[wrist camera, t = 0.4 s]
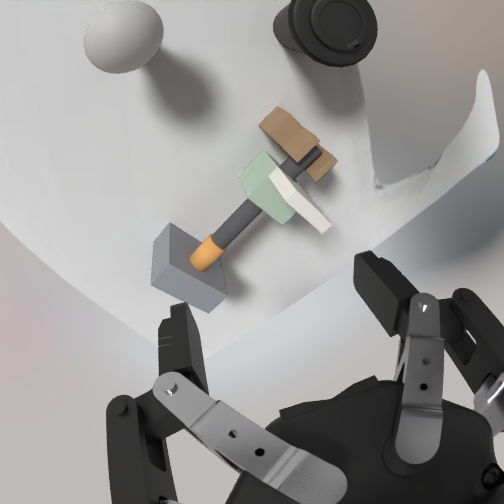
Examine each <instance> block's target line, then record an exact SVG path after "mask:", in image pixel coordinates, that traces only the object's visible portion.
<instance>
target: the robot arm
mask: <svg viewBox="0 0 504 504" xmlns="http://www.w3.org/2000/svg"><path fill="white" fill-rule="evenodd" d="M353 280H354V286H355V289H356V291H357V292H358V294H359V295H360V296H361V298H362V299H363V300H364V301H365V303H366V304H367V305H368V307H369V308H370V310H371V311H372V312H373V314H374V315H375V317H376V318H377V319H378V321H379V322H380V323H381V325H382V326H383V328H384V329H385V330H386V332H387V333H388V335H389V336H390V337H392V336H394V335H397V334H399V336H400V337H401V338H400V341H399V349H398V357H397V364H396V371H395V376H394V379H393V381H392V380H382V381H378V380H377V378H376V377H375V375H374V376H371V377H369V378H367V379H364V380H362V381H359V382H357V383H355V384H353V385H351V386H350V387H348V388H347V389H345V390H344V391H343V392H341V393H340V394H338V395H337V396H335V397H334V398H332V399H328V400H320V401H312V402H303V403H300V404H297V405H294V406H291V407H288V408H284V409H281V410H279V412H280V417H279V418H277V419H275V420H274V421H273V422H271V423H270V424H269V425H268V426H267V427H266V428H265V429H263V428H262V427H260V426H259V425H257V424H256V423H254V422H252V421H250V420H249V419H247V418H246V417H244V416H243V415H242V414H240V413H239V412H237V411H236V410H234V409H233V408H232V407H230V406H229V405H227V404H226V403H224V402H222V401H220V400H218V401H216V400H214V399H213V398H211V397H210V396H209V392H208V386H207V380H206V373H205V367H204V360H203V354H202V347H201V340H200V334H199V331H198V327H197V325H196V322H195V320H194V317H193V315H192V313H191V310H190V308H189V306H188V303H187V302H184V303H180V304H176V305H172V306H171V307H170V313H171V318H167V319H163V320H162V322H161V324H160V326H159V329H158V339H159V340H158V346H159V348H158V350H159V351H158V354H159V355H158V357H159V377H158V378H157V380H156V381H155V383H154V385H153V388H152V389H151V390H150V391H148V392H147V393H145V394H143V395H141V396H139V397H137V398H135V399H133V398H132V397H130V396H128V395H120V396H117V397H115V398H114V399H112V401H111V402H110V403H109V404H108V406H107V410H106V426H107V427H106V428H107V429H106V430H107V454H108V469H109V480H110V490H111V498H112V504H181V503H179V502H178V500H177V495H176V491H175V486H174V481H173V476H172V471H171V466H170V461H169V455H168V449H167V443H166V437H168V436H170V435H172V434H174V433H176V432H178V431H180V430H182V429H185V430H186V431H187V432H188V433H189V434H191V435H192V436H193V437H194V438H195V439H197V440H198V441H199V442H200V443H201V444H203V445H204V446H205V447H206V448H208V449H209V450H210V451H211V452H212V453H214V454H215V455H216V456H217V457H218V458H220V459H221V460H222V461H223V462H224V463H226V464H227V465H229V466H230V467H231V468H232V469H234V470H235V471H236V472H238V473H239V474H240V476H239V478H238V480H237V482H236V484H235V486H234V488H233V490H232V492H231V493H230V495H229V497H228V499H227V501H226V503H225V504H504V471H503V470H502V469H501V468H500V467H499V466H498V464H497V461H496V457H495V453H494V445H493V437H494V436H496V435H497V434H498V433H500V432H504V326H503V325H502V324H501V323H500V321H499V320H498V319H497V318H496V317H495V315H494V314H493V313H492V312H491V311H490V310H489V308H488V307H487V306H486V305H485V304H484V303H483V302H482V300H481V299H480V298H479V297H478V296H477V295H476V294H475V293H474V292H473V291H471V290H469V289H466V288H459V289H457V290H455V291H454V293H453V296H452V298H447V299H441V300H437V299H436V298H435V297H434V296H433V295H431V294H428V293H420V292H419V291H418V290H417V289H416V288H415V287H414V286H413V285H412V284H411V283H410V282H409V281H408V279H407V278H406V277H405V276H404V275H402V273H401V272H400V271H399V270H397V268H396V267H395V266H394V265H393V264H392V263H391V262H390V261H388V260H386V259H384V258H382V257H381V258H378V257H377V256H376V255H375V254H374V253H373V252H372V251H370V250H369V251H365V252H362V253H359V254H356V255H355V257H354V276H353ZM466 330H468V331H469V332H470V334H471V335H472V336H473V338H474V339H475V341H476V344H475V343H474V341H473V340H472V339H471V337H470V336H469V335H468V334H467V332H466ZM444 349H445V350H446V352H447V353H448V354H449V356H450V357H451V359H452V360H453V362H454V364H455V365H456V366H457V368H458V370H459V371H460V373H461V374H462V376H463V377H464V379H465V380H466V382H467V384H468V385H469V387H470V388H471V390H472V392H473V393H474V395H475V396H474V405H475V407H474V410H471V409H468V408H466V407H463V406H460V405H458V404H455V403H452V402H450V401H447V400H444V399H442V392H443V374H444Z"/></svg>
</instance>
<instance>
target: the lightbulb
mask: <svg viewBox="0 0 504 504" xmlns="http://www.w3.org/2000/svg"><path fill="white" fill-rule="evenodd" d="M163 31H164V29H163V23H162V20H161V18H160V16H159V14H158V13H157V12H156V11H155V9H153V8H152V7H151V6H149V5H147V4H145V3H143V2H139V1H129V0H127V1H120V2H117V3H114V4H111V5H109V6H107V7H105V8H104V9H102V10H101V11H100V12H99V13H98V14H97V15H96V16H95V17H94V18H93V19H92V20H91V22H90V23H89V25H88V27H87V30H86V32H85V36H84V49H85V53H86V55H87V57H88V59H89V60H90V62H91V63H92V64H93V65H94V66H96V67H97V68H98V69H100V70H102V71H104V72H108V73H117V74H119V73H126V72H130V71H133V70H136V69H138V68H140V67H142V66H143V65H144V64H146V63H147V62H149V61H150V60H151V59H152V58H153V57H154V55H155V54H156V52H157V51H158V49H159V47H160V45H161V43H162V39H163Z"/></svg>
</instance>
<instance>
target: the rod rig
mask: <svg viewBox="0 0 504 504" xmlns="http://www.w3.org/2000/svg"><path fill="white" fill-rule="evenodd" d="M259 126H260V127H261V128H262V129H263V130H264V131H265V132H266V133H267V134H268V135H269V136H270V137H271V138H273V139H274V140H275V141H276V142H277V143H278V144H279V145H280V146H281V147H282V148H283V149H284V150H285V151H286V152H287V153H288V154H289V155H290V156H289V157H288V158H287V159H286V160H285V161H284V162H283V163H282V164H281V165H280V166H279V167H280V168H281V169H282V170H283V171H284V172H285V173H286V174H287V175H288V176H289V177H290V178H291V179H292V180H294V179H295V178H297V177H298V176H299V175H300V174H301V173H302V172H303V171H304V170H305V171H306V172H307V173H308V174H309V175H310V176H311V177H312V178H313V179H314V180H315V181H316V182H318V181H319V180H320V179H321V178H322V177H323V176H324V175H325V174H326V173H327V172H328V171H329V170H330V169H331V168H332V167H333V166H334V165H335V164H336V163H337V162H338V161H337V159H336V158H335V157H334V156H333V155H332V154H330V153H329V152H328V151H326V150H325V149H324V148H322V147H321V146H320V145H319V144H318V142H319V141H320V140H319V139H318V138H317V137H316V136H315V135H314V134H313V133H311V132H310V131H308V130H307V129H305V128H304V127H302V126H301V124H300V123H299V122H298V121H297V120H296V119H295V118H294V117H293V116H292V115H291V114H290V113H288V112H287V111H285V110H283V109H282V108H280V107H278V106H277V107H276V108H275V109H274V110H273V111H272V112H271V113H270V114H269V115H268V116H267V117H266V118H265V119H264V120H263V121H262V122H261V123H260V124H259ZM262 211H263V210H262V209H261V208H260V207H259V206H257V205H256V204H255V203H253V202H252V201H251V200H250V199H247V200H246V201H245V202H244V203H243V204H242V205H241V206H240V207H239V208H238V209H237V210H236V211H235V212H234V213H233V214H232V215H231V216H230V217H229V218H228V219H227V220H226V221H225V222H224V223H223V224H222V225H221V226H220V228H219V229H218V230H217V231H216V232H215V233H214V234H211V235H209V236H208V238H207V239H206V240H205V241H204V242H203V243H202V242H200V241H198V240H197V239H195V238H194V237H192V236H190V235H189V234H187V233H186V232H184V231H182V230H181V229H179V228H178V227H176V226H174V225H173V224H171V223H169V224H168V225H167V226H166V228H165V229H164V230H163V231H162V232H161V234H160V235H159V236H158V237H157V239H156V240H155V241H154V245H153V258H152V272H151V285H152V286H154V287H155V288H157V289H159V290H161V291H163V292H165V293H167V294H169V295H171V296H173V297H175V298H177V299H179V300H182V301H184V302H187V303H188V304H190V305H192V306H194V307H196V308H198V309H200V310H202V311H204V312H207V313H210V312H211V311H212V310H213V309H214V308H215V307H216V306H218V305H219V304H220V303H221V302H222V301H223V300H224V299H225V298H226V297H227V296H228V293H227V288H226V284H225V279H224V275H223V270H222V265H221V261H220V256H221V255H222V254H223V253H224V252H225V251H226V247H227V246H228V245H229V244H230V243H231V242H232V241H233V240H234V239H235V238H236V237H237V236H238V235H239V234H240V233H241V232H242V231H243V230H244V229H245V228H246V227H247V226H248V225H249V224H250V223H251V222H252V221H253V220H254V219H255V218H256V217H257V216H258V215H259V214H260V213H261V212H262Z"/></svg>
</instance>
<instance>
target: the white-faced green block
mask: <svg viewBox="0 0 504 504" xmlns="http://www.w3.org/2000/svg"><path fill="white" fill-rule="evenodd" d="M279 166H280V164H279V163H278V162H277V161H276V160H275V159H274V158H272V157H271V156H270V155H269V154H268V153H267V152H266V151H265V150H263V151H262V152H261V153H260V154H259V155H258V156H257V157H256V158H255V159H254V160H253V161H252V162H251V163H250V165H249V166H248V167H247V168H246V169H245V170H244V171H243V172H242V173H241V174H240V175H239V176H238V178H239V181H240V183H241V185H242V187H243V190H244V192H245V194H246V196H247V198H248V199H250V200H251V201H252V202H253V203H255V204H256V205H257V206H259V207H260V208H261V209H262V210H264V211H265V212H266V213H267V214H269V215H270V216H271V217H272V218H274V219H275V220H276V221H277V222H279V223H280V224H281V225H283V224H284V223H285V222H287V221H288V220H289V219H290V218H291V217H292V216H293V215H294V214H295V213H296V212H298V213H299V214H300V215H302V216H303V217H304V218H305V219H306V220H307V221H308V222H309V223H311V224H312V225H313V226H314V227H315V228H316V229H317V230H318V231H319V232H320V233H322V234H323V233H324V232H325V231H326V230H327V229H328V228H329V227H331V226H332V224H331V222H330V221H329V220H328V218H327V217H326V216H325V215H324V213H323V212H322V211H321V210H320V208H319V207H318V206H317V205H316V203H315V202H314V201H313V200H312V198H311V197H310V196H309V195H308V194H307V192H306V191H305V190H304V189H303V188H302V186H301V185H300V184H299V183H298V182H297V180H296V179H294V180H292V179H291V178H290V177H289V176H288V175H287V174H286V173H285V172H284V171H283V170H282V169H281V168H280V167H279Z"/></svg>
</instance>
